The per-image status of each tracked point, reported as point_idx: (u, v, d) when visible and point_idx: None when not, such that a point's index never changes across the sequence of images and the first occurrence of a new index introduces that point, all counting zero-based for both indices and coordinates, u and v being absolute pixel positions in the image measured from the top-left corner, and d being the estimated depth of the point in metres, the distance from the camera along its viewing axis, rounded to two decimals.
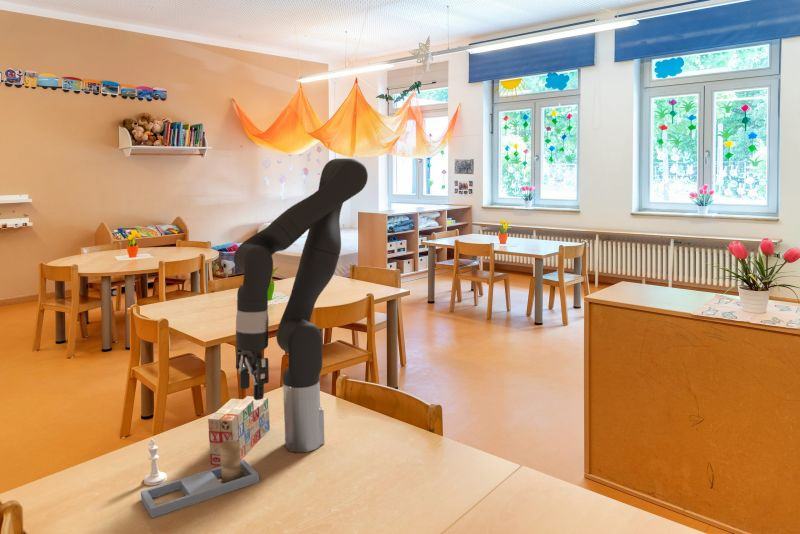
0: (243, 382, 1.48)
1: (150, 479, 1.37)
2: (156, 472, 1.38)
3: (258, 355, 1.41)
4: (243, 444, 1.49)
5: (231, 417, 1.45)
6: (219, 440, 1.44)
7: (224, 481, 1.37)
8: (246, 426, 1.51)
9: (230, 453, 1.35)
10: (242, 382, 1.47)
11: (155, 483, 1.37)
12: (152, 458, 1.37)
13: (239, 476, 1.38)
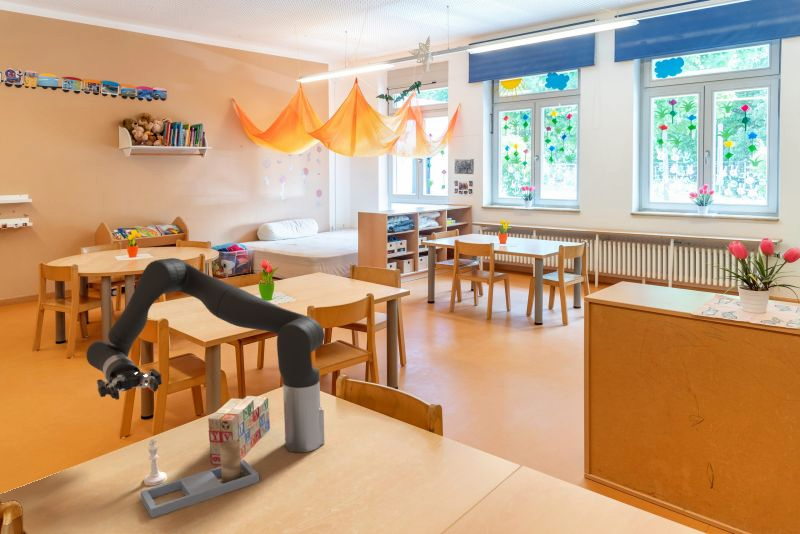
0: (151, 387, 1.48)
1: (150, 479, 1.37)
2: (156, 472, 1.38)
3: None
4: (243, 443, 1.49)
5: (231, 417, 1.45)
6: (219, 440, 1.45)
7: (224, 481, 1.37)
8: (246, 426, 1.51)
9: (230, 453, 1.35)
10: (151, 388, 1.49)
11: (155, 483, 1.37)
12: (152, 458, 1.37)
13: (239, 476, 1.38)
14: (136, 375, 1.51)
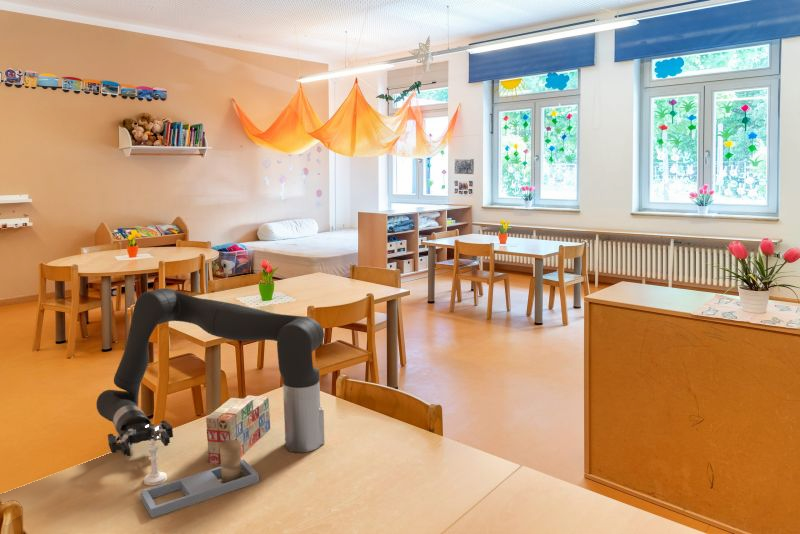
0: (163, 441, 1.46)
1: (150, 479, 1.37)
2: (156, 472, 1.38)
3: None
4: (241, 443, 1.50)
5: (229, 416, 1.45)
6: (217, 439, 1.45)
7: (224, 481, 1.37)
8: (245, 426, 1.51)
9: (230, 453, 1.35)
10: (163, 442, 1.46)
11: (155, 483, 1.37)
12: (152, 458, 1.37)
13: (239, 476, 1.38)
14: (147, 428, 1.49)
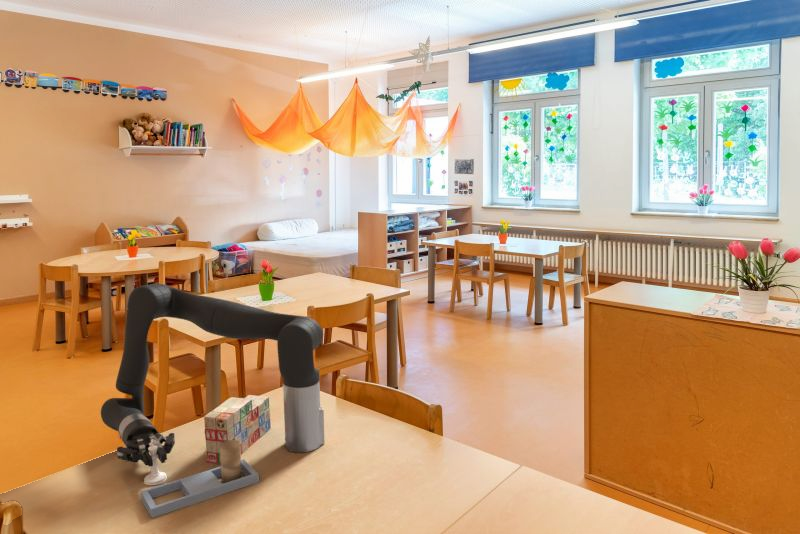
0: (159, 458, 1.38)
1: (150, 479, 1.37)
2: (156, 472, 1.38)
3: (126, 446, 1.42)
4: None
5: (227, 416, 1.45)
6: (214, 438, 1.45)
7: (224, 481, 1.37)
8: (243, 425, 1.51)
9: (230, 453, 1.35)
10: (159, 459, 1.38)
11: (155, 483, 1.37)
12: (152, 458, 1.37)
13: (239, 476, 1.38)
14: (150, 440, 1.43)
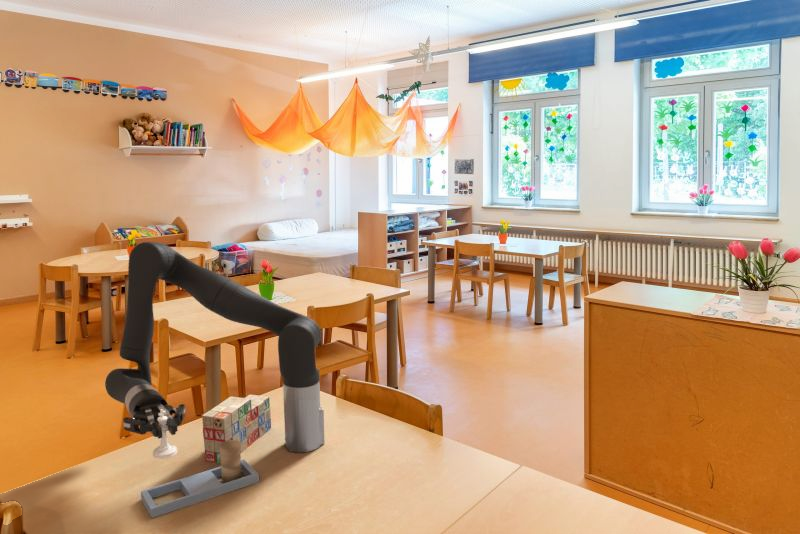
0: (169, 430, 1.27)
1: (160, 452, 1.27)
2: (166, 445, 1.28)
3: None
4: None
5: (224, 415, 1.46)
6: (212, 438, 1.46)
7: (224, 481, 1.37)
8: (242, 425, 1.51)
9: (230, 453, 1.35)
10: (169, 431, 1.27)
11: (165, 456, 1.26)
12: None
13: (239, 476, 1.38)
14: (159, 410, 1.32)
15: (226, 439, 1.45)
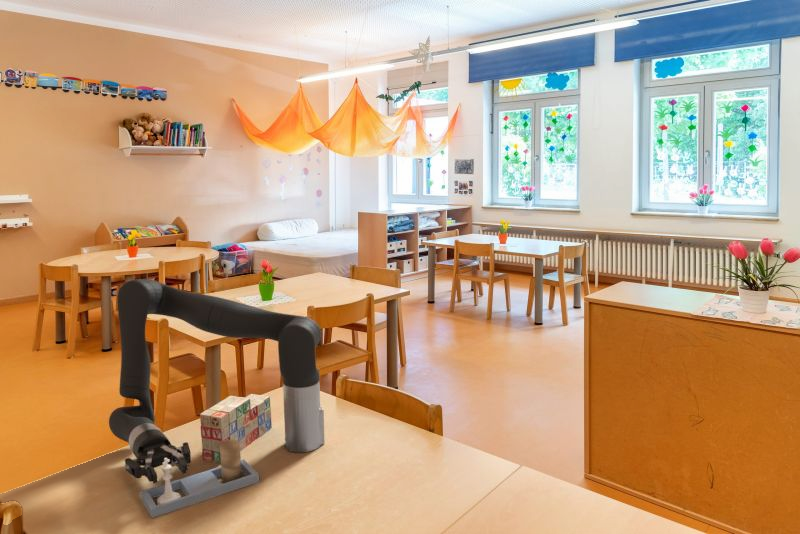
0: (180, 469, 1.30)
1: (164, 501, 1.29)
2: (170, 493, 1.30)
3: None
4: None
5: (222, 414, 1.46)
6: (209, 436, 1.47)
7: (224, 481, 1.37)
8: (240, 424, 1.52)
9: (230, 453, 1.35)
10: (180, 470, 1.30)
11: None
12: (166, 478, 1.29)
13: (239, 476, 1.38)
14: (165, 451, 1.34)
15: (223, 438, 1.46)
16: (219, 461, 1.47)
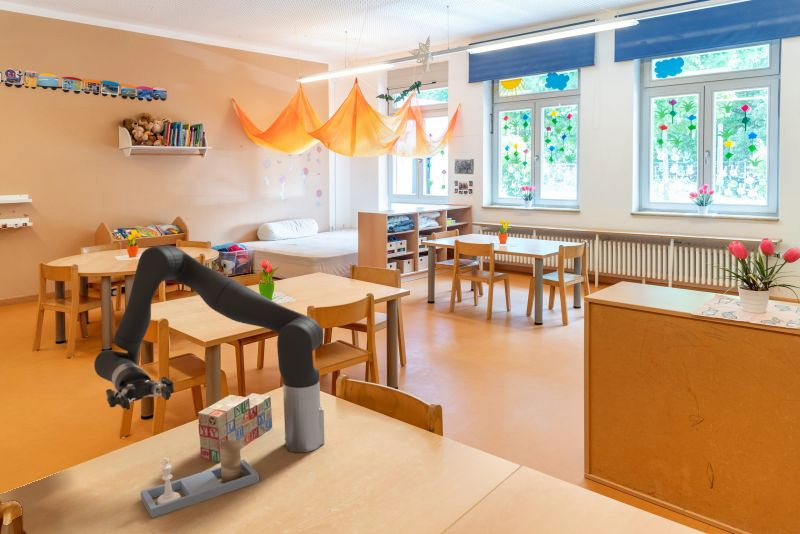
0: (163, 396, 1.41)
1: (164, 501, 1.29)
2: (170, 493, 1.30)
3: None
4: None
5: (219, 413, 1.47)
6: (207, 435, 1.47)
7: (224, 481, 1.37)
8: (238, 423, 1.52)
9: (230, 453, 1.35)
10: (164, 397, 1.41)
11: None
12: (166, 478, 1.29)
13: (239, 476, 1.38)
14: (147, 383, 1.44)
15: (220, 437, 1.46)
16: (216, 460, 1.48)
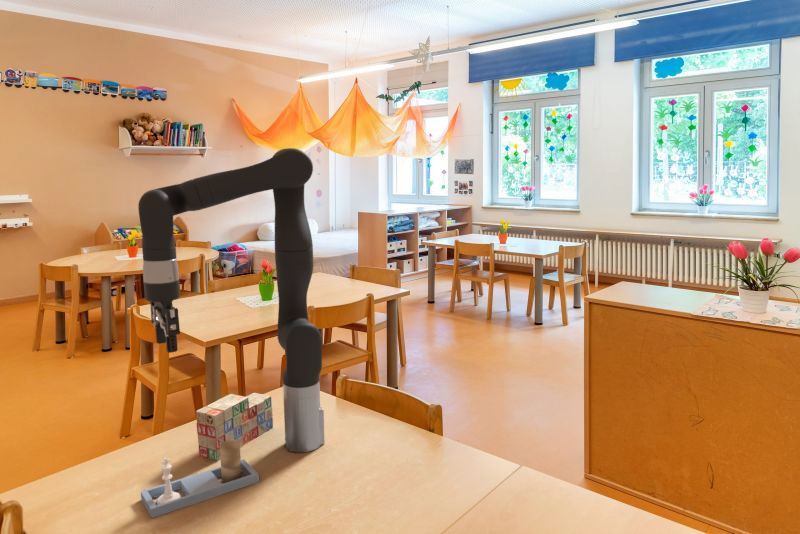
0: (159, 336, 1.42)
1: (164, 501, 1.29)
2: (170, 493, 1.30)
3: (168, 306, 1.35)
4: (231, 439, 1.51)
5: (216, 412, 1.47)
6: (205, 433, 1.48)
7: (224, 481, 1.37)
8: (236, 423, 1.53)
9: (230, 453, 1.35)
10: (158, 336, 1.42)
11: None
12: (166, 478, 1.29)
13: (239, 476, 1.38)
14: None
15: (217, 436, 1.47)
16: (214, 458, 1.48)
